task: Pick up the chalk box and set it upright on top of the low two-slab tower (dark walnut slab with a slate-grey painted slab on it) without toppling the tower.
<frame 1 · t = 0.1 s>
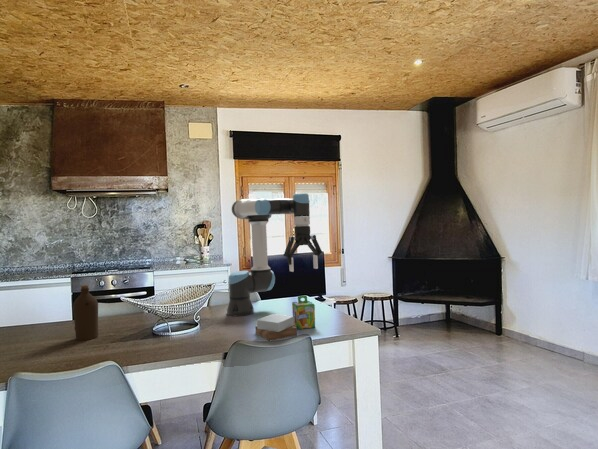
hand: (303, 270, 192), 28 cm above the table, fingers open, 13 cm apart
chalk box: (304, 326, 195), on the table
walnut slab: (276, 335, 184), on the table, touching grey slab
grey slab: (275, 326, 184), point 3 cm above the table, touching walnut slab
olive oil: (87, 338, 190), on the table
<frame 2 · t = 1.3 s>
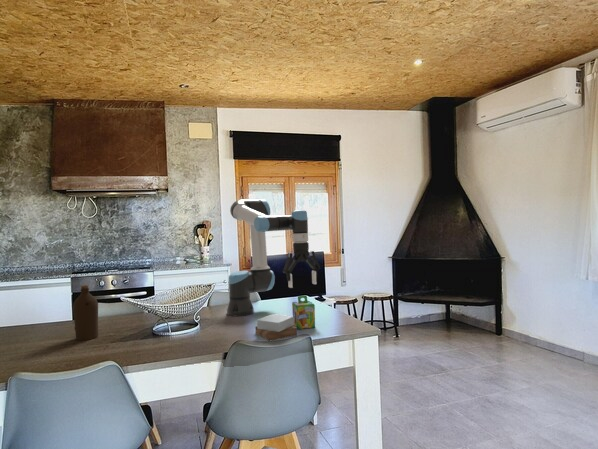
hand: (302, 285, 195), 20 cm above the table, fingers open, 13 cm apart
nothing on the table moved.
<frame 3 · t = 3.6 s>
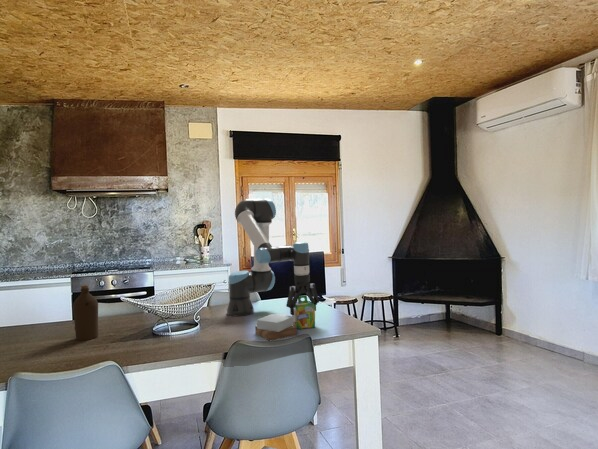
hand: (303, 319, 195), 3 cm above the table, fingers closed on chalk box, 10 cm apart
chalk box: (304, 326, 195), on the table, touching gripper
walnut slab: (275, 335, 184), on the table
grey slab: (275, 326, 184), point 3 cm above the table
everything else where it was.
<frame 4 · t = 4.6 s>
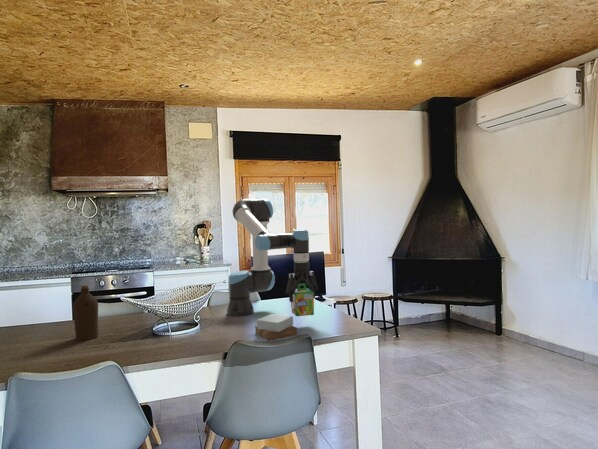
hand: (302, 306, 196), 9 cm above the table, fingers closed on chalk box, 10 cm apart
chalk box: (302, 314, 196), point 6 cm above the table, touching gripper
walnut slab: (276, 335, 184), on the table, touching grey slab
grey slab: (275, 326, 184), point 3 cm above the table, touching walnut slab
everything else where it was.
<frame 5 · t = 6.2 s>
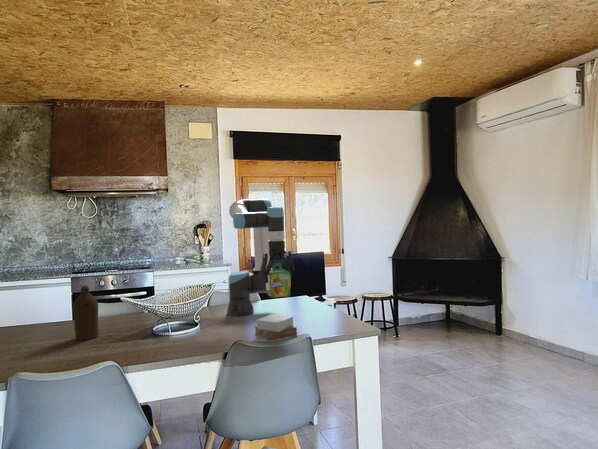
hand: (278, 288, 185), 21 cm above the table, fingers closed on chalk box, 10 cm apart
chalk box: (279, 296, 185), point 17 cm above the table, touching gripper
everything else where it was.
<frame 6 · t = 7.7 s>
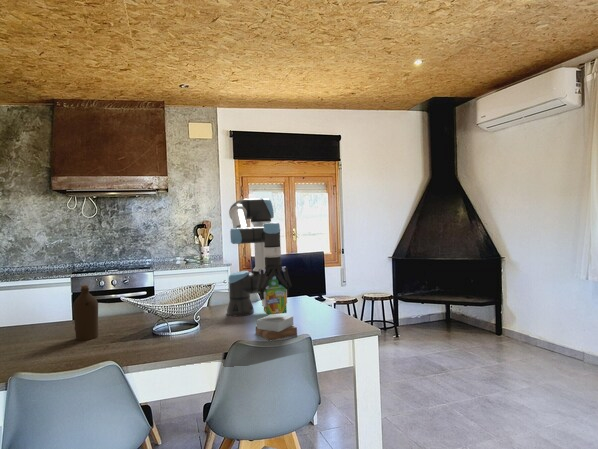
hand: (274, 304, 184), 14 cm above the table, fingers closed on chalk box, 10 cm apart
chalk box: (275, 312, 184), point 10 cm above the table, touching gripper
walnut slab: (276, 335, 184), on the table
grey slab: (275, 326, 184), point 3 cm above the table
everything else where it was.
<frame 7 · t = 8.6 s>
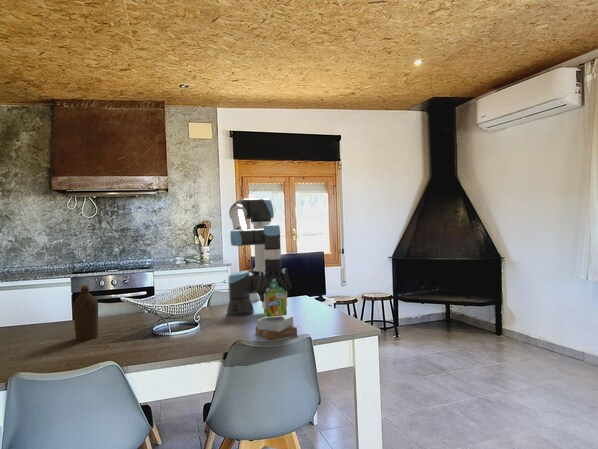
hand: (274, 306, 184), 13 cm above the table, fingers closed on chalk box, 10 cm apart
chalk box: (275, 314, 184), point 9 cm above the table, touching gripper
walnut slab: (276, 335, 184), on the table, touching grey slab
grey slab: (275, 326, 184), point 3 cm above the table, touching walnut slab
everything else where it was.
when the fingers open (13 cm above the table, at t = 8.9 s): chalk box drops 2 cm, resting on grey slab.
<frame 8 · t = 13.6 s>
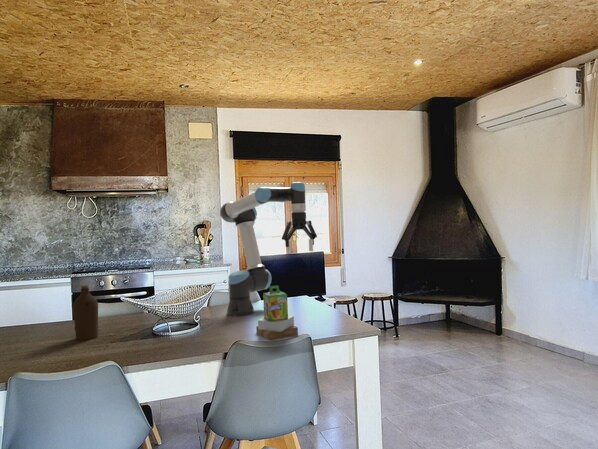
hand: (300, 252, 211), 35 cm above the table, fingers open, 13 cm apart
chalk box: (276, 318, 184), point 7 cm above the table, touching grey slab
grey slab: (276, 326, 184), point 3 cm above the table, touching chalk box, walnut slab
everything else where it was.
at the end: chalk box 0.2 cm from the grey slab (horizontally); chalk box point 7.0 cm above the table; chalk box tilted 1° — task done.
